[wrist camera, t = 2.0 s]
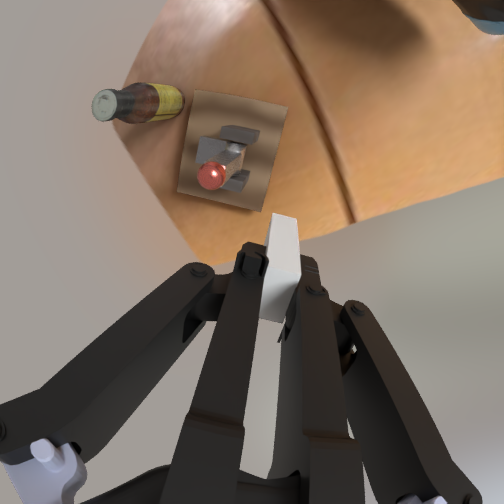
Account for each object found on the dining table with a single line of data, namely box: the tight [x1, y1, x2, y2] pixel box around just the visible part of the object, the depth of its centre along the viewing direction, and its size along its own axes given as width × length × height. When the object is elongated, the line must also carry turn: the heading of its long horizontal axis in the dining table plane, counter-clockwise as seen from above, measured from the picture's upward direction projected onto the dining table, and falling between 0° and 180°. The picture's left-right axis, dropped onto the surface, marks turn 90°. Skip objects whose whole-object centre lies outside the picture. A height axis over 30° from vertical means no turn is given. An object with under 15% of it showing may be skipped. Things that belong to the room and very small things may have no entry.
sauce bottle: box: [92, 83, 185, 124], centre depth 34 cm, size 7×6×20 cm
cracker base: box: [177, 89, 288, 212], centre depth 41 cm, size 18×15×12 cm
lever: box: [195, 135, 247, 190], centre depth 32 cm, size 4×7×16 cm, turn 77°
